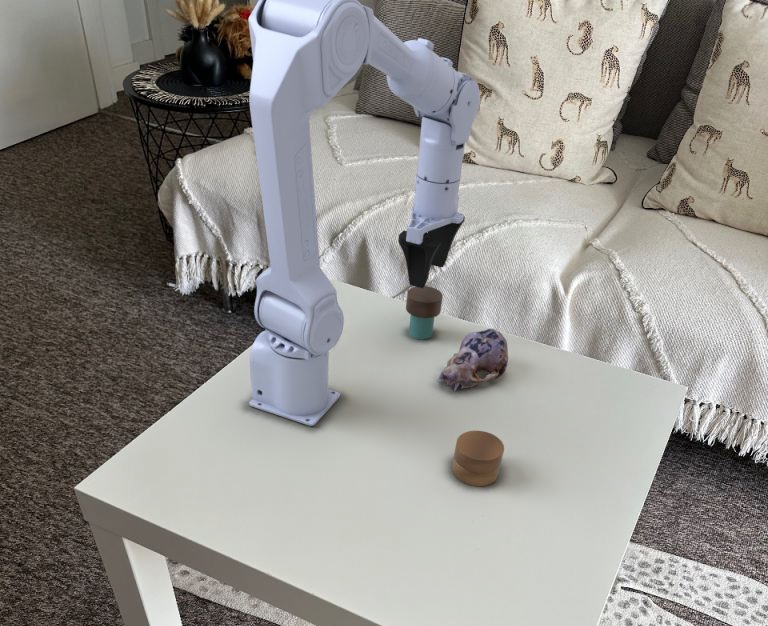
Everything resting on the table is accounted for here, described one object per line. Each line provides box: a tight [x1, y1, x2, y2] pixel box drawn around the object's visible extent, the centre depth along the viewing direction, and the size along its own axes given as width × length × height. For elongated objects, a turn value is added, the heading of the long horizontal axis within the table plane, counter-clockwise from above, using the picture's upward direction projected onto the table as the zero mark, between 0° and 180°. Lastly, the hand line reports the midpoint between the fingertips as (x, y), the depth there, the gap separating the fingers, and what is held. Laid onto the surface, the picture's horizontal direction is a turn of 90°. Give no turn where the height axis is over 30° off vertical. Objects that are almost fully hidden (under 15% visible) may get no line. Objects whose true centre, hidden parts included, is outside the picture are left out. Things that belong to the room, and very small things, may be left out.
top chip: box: [453, 430, 505, 473], centre depth 83 cm, size 6×6×2 cm
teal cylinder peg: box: [408, 314, 435, 341], centre depth 107 cm, size 4×4×4 cm
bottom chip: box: [451, 456, 501, 487], centre depth 85 cm, size 6×6×2 cm
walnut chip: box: [405, 285, 444, 318], centre depth 105 cm, size 5×5×2 cm
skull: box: [438, 328, 509, 392], centre depth 99 cm, size 12×8×6 cm, turn 129°
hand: (427, 275), depth 102 cm, fingers open, 7 cm apart
